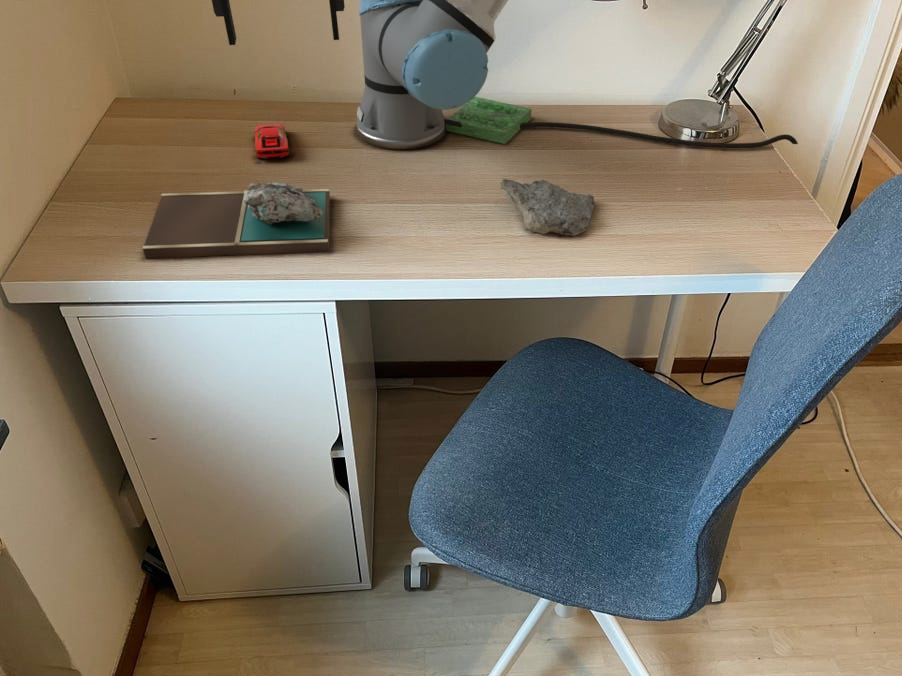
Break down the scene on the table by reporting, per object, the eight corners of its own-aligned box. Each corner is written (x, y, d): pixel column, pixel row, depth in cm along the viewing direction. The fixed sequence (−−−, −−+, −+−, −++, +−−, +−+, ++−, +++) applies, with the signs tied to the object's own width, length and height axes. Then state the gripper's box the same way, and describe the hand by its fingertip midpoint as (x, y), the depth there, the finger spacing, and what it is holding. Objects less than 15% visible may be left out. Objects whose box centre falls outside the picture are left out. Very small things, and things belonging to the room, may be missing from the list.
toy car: (254, 132, 133) (251, 114, 131) (285, 130, 134) (283, 112, 132) (257, 163, 124) (254, 144, 122) (290, 161, 125) (287, 142, 123)
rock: (578, 221, 106) (484, 184, 111) (570, 249, 108) (479, 211, 113) (613, 196, 116) (526, 163, 121) (606, 222, 119) (521, 189, 123)
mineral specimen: (262, 245, 103) (255, 204, 99) (232, 206, 111) (224, 167, 107) (329, 227, 107) (325, 187, 103) (296, 191, 115) (291, 152, 111)
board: (330, 198, 117) (329, 188, 115) (328, 251, 106) (327, 241, 104) (164, 203, 114) (161, 193, 113) (145, 258, 103) (142, 248, 102)
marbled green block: (530, 119, 141) (531, 105, 139) (505, 144, 133) (505, 130, 131) (474, 107, 144) (475, 93, 143) (446, 130, 136) (446, 116, 134)
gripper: (361, -160, 94) (375, 25, 108) (147, -157, 91) (191, 34, 105) (365, -150, 88) (380, 44, 103) (138, -146, 85) (186, 53, 100)
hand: (285, 39), depth 104 cm, fingers open, 13 cm apart
